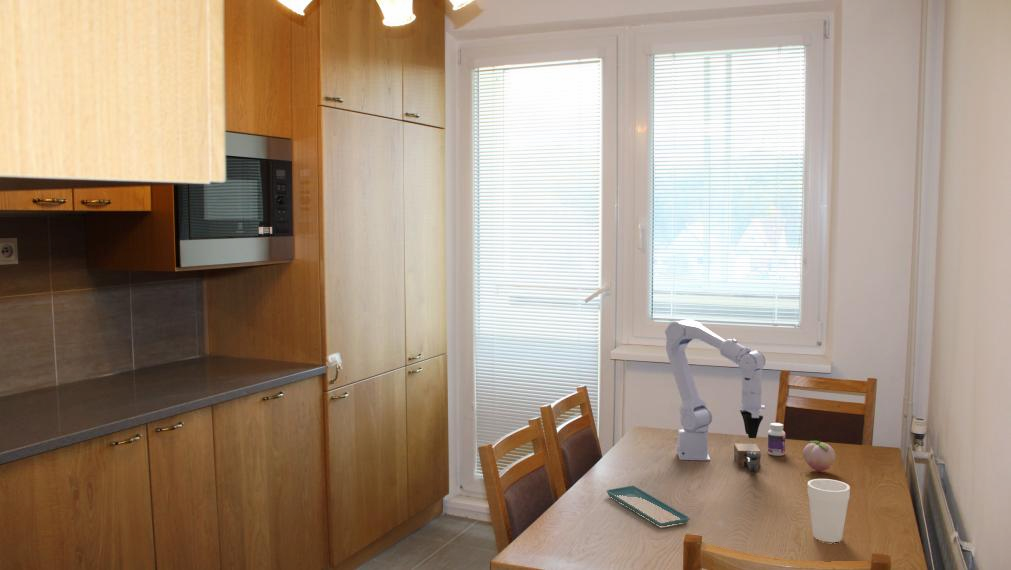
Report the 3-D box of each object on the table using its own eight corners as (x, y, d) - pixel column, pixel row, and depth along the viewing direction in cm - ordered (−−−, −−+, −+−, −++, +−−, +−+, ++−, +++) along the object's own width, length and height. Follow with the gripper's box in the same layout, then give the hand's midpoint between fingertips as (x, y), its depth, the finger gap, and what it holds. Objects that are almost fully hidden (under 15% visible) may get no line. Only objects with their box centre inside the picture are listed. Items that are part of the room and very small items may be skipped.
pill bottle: (786, 456, 260) (786, 426, 259) (768, 455, 261) (768, 426, 260) (783, 451, 265) (784, 422, 265) (766, 451, 266) (767, 421, 266)
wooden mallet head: (738, 466, 250) (738, 450, 250) (734, 458, 258) (734, 443, 258) (760, 467, 249) (760, 451, 249) (755, 459, 257) (755, 444, 257)
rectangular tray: (690, 525, 204) (690, 516, 204) (660, 531, 201) (660, 522, 201) (633, 493, 228) (633, 485, 228) (605, 498, 225) (605, 490, 224)
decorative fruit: (841, 474, 242) (842, 441, 241) (820, 478, 239) (820, 444, 238) (818, 465, 250) (819, 433, 249) (797, 469, 247) (798, 436, 246)
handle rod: (747, 473, 241) (747, 455, 240) (738, 455, 258) (738, 438, 257) (761, 473, 240) (761, 455, 240) (751, 456, 257) (751, 439, 257)
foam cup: (799, 531, 199) (800, 479, 198) (836, 529, 199) (837, 478, 198) (817, 547, 189) (818, 492, 188) (856, 545, 190) (857, 490, 189)
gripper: (770, 397, 238) (769, 442, 239) (760, 386, 252) (760, 429, 253) (745, 396, 239) (744, 442, 240) (737, 386, 253) (736, 429, 254)
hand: (751, 435), depth 247 cm, fingers open, 4 cm apart
